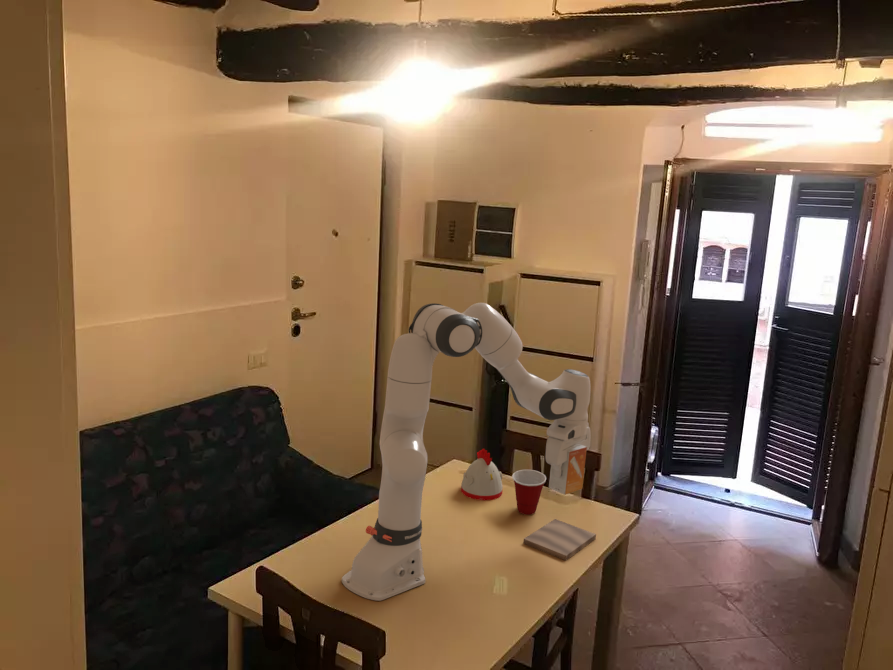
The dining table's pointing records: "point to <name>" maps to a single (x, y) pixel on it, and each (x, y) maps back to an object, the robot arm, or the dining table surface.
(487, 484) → the kitchen timer
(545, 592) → the dining table surface
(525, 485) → the plastic cup
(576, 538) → the walnut board
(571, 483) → the small box
